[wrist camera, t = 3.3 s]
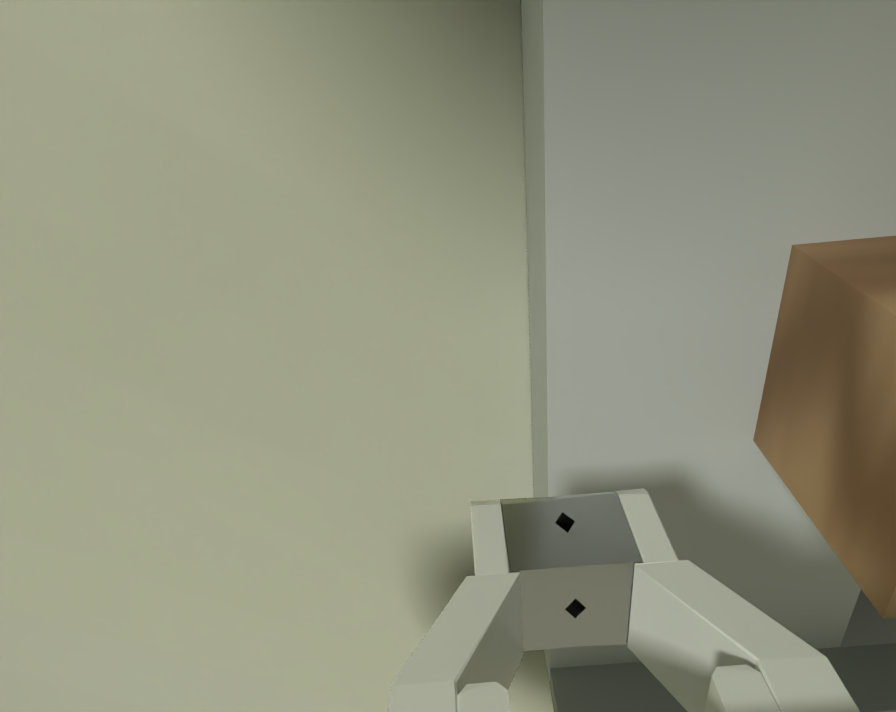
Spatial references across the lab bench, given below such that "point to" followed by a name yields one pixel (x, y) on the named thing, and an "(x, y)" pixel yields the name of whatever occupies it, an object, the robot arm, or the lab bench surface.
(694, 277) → the box
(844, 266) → the walnut block
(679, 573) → the robot arm
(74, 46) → the lab bench surface
